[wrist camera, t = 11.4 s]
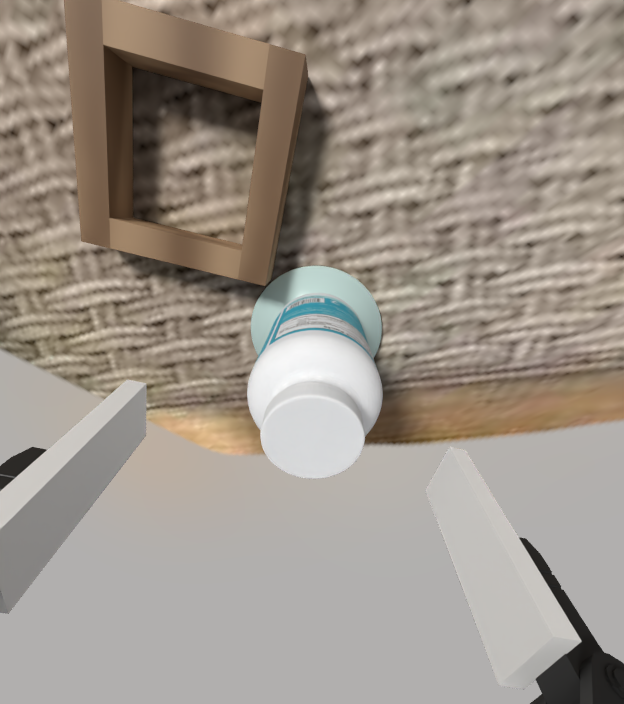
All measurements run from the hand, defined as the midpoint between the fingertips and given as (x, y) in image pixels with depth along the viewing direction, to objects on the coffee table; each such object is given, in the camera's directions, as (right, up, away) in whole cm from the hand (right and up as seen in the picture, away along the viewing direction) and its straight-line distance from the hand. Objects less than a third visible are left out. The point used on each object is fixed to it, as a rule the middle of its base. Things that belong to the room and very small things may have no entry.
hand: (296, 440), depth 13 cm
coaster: (+1, +6, +13) cm, 14 cm away
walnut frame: (-7, +17, +8) cm, 20 cm away
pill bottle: (+1, +6, +13) cm, 14 cm away
